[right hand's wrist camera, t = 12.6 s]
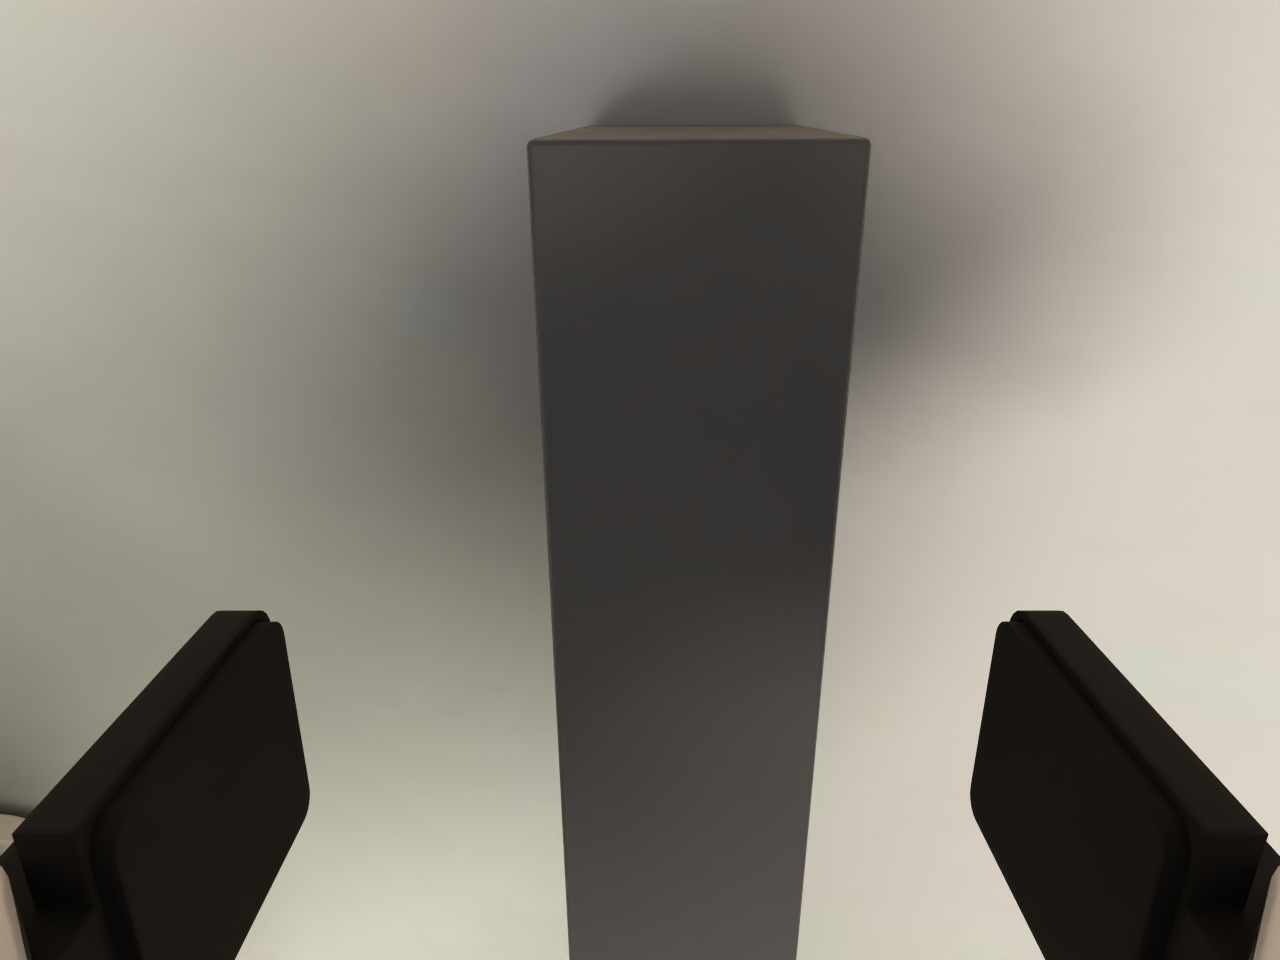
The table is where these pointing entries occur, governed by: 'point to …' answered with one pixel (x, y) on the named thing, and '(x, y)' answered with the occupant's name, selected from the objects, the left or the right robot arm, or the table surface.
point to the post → (691, 515)
